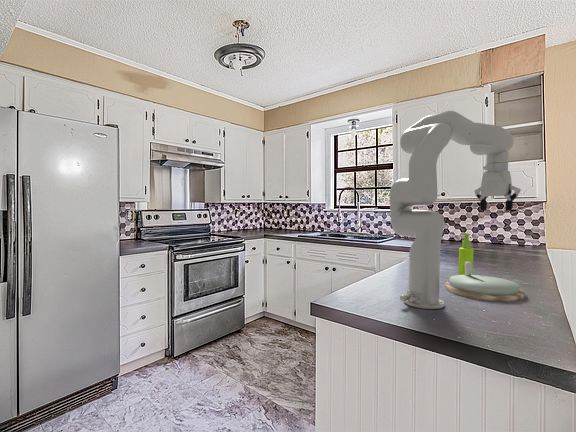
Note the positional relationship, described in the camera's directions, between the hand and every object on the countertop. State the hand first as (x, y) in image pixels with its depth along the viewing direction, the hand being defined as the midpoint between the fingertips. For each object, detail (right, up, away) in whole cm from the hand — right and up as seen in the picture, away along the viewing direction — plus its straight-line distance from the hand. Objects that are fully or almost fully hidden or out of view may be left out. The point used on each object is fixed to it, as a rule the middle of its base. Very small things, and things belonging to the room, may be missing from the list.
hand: (495, 210), depth 131 cm
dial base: (-9, -31, -7) cm, 33 cm away
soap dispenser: (-2, -30, +19) cm, 36 cm away
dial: (-9, -30, -7) cm, 32 cm away
